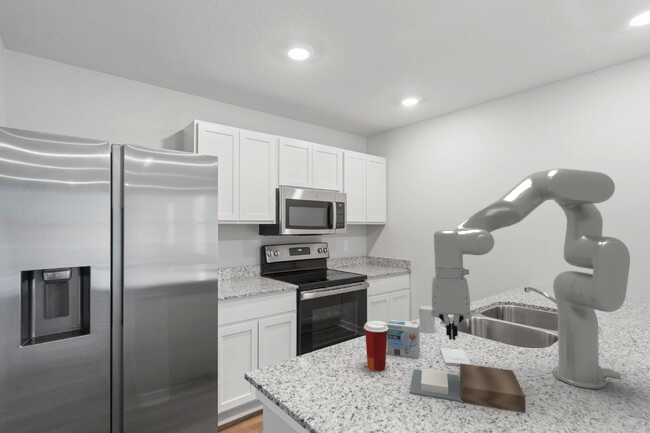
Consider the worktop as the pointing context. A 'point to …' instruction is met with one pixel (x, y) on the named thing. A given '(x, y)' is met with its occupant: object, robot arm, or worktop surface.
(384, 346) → the paper cup
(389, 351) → the light bulb box
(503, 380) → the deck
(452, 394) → the mat
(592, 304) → the robot arm
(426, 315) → the grey tapered cup
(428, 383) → the cream rectangular block
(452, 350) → the external hard drive
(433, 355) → the worktop surface
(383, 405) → the worktop surface
